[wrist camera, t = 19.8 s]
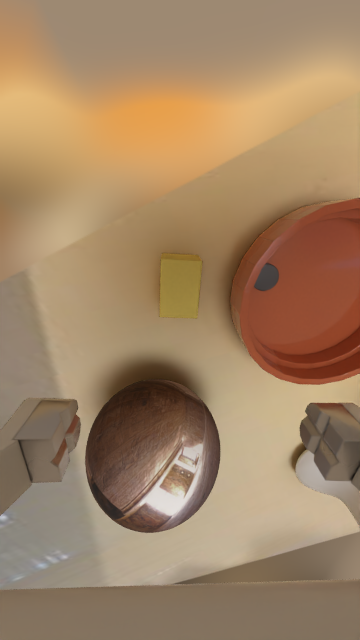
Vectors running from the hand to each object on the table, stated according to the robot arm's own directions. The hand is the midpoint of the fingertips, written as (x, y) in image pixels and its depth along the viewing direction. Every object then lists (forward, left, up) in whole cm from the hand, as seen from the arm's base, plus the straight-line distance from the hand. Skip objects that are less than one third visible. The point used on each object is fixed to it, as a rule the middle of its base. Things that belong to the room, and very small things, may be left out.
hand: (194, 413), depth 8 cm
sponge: (0, 0, -21) cm, 21 cm away
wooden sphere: (+18, -2, -21) cm, 28 cm away
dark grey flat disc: (-1, +10, -20) cm, 22 cm away
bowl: (+1, +16, -21) cm, 26 cm away
